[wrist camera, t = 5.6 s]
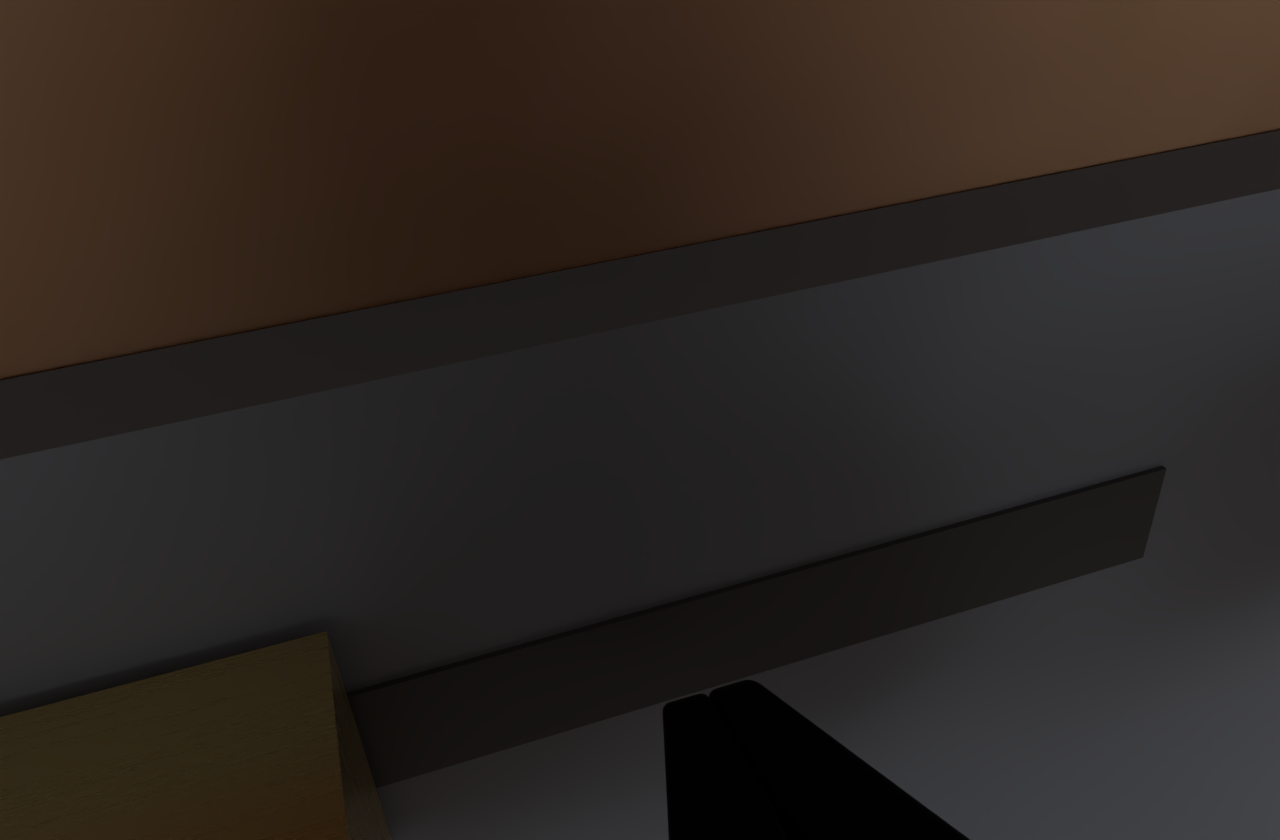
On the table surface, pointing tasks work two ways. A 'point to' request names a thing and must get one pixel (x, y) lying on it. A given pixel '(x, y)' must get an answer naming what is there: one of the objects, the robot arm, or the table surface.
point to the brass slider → (196, 756)
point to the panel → (726, 512)
